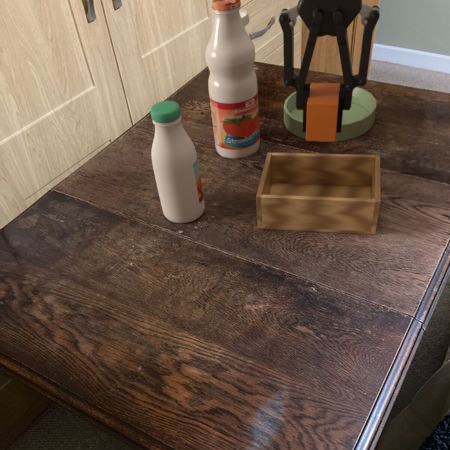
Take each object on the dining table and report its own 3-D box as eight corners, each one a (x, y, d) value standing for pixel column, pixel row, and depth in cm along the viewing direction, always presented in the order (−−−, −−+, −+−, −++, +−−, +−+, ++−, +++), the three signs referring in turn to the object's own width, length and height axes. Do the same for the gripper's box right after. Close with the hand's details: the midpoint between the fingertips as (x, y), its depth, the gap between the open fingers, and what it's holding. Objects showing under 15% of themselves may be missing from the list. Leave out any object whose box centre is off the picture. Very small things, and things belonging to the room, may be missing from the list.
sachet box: (337, 119, 81) (340, 83, 76) (335, 141, 76) (338, 104, 72) (309, 119, 82) (311, 83, 77) (305, 141, 77) (307, 104, 73)
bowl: (373, 100, 112) (376, 83, 109) (373, 144, 100) (376, 126, 97) (289, 100, 116) (289, 83, 113) (279, 143, 103) (278, 125, 101)
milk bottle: (196, 227, 87) (177, 120, 72) (157, 221, 89) (131, 116, 75) (211, 201, 92) (196, 96, 77) (173, 196, 94) (152, 93, 79)
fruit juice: (242, 132, 108) (231, -14, 88) (269, 148, 102) (265, -4, 82) (207, 148, 105) (187, 1, 84) (233, 166, 99) (219, 12, 79)
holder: (375, 186, 90) (380, 154, 85) (375, 234, 81) (380, 202, 76) (268, 183, 94) (267, 152, 89) (257, 228, 85) (255, 196, 80)
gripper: (257, -34, 61) (264, 139, 78) (407, -41, 57) (379, 141, 74) (266, -50, 66) (270, 116, 83) (404, -58, 62) (379, 117, 79)
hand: (322, 127), depth 79 cm, fingers closed on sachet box, 4 cm apart
